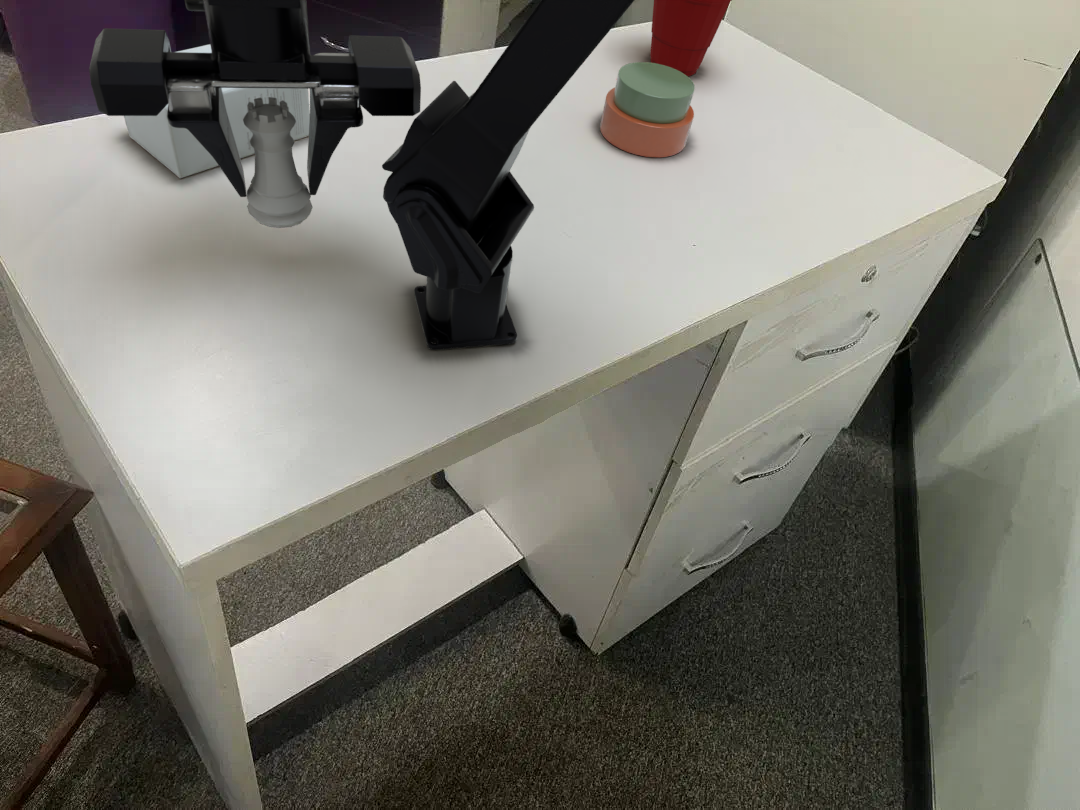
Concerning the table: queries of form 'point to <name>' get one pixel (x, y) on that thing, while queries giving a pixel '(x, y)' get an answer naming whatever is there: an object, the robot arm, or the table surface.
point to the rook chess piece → (275, 167)
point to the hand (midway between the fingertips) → (278, 192)
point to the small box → (188, 153)
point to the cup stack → (648, 110)
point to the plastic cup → (684, 31)
